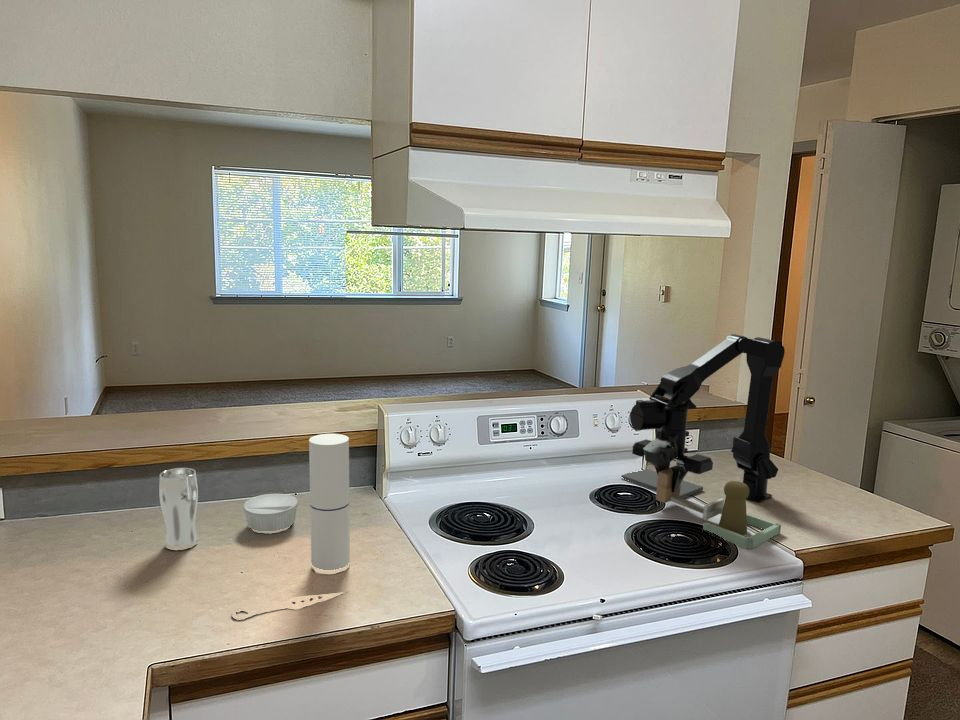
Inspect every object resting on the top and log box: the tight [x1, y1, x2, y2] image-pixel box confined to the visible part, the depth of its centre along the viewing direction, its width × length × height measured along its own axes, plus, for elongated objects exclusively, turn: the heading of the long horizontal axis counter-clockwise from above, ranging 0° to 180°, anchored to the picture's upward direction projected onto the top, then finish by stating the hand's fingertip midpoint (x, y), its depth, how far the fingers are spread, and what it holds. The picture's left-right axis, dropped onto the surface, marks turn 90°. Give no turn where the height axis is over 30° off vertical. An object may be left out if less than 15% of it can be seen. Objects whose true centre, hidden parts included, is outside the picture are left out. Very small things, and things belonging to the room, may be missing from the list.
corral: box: [702, 512, 782, 550], centre depth 153 cm, size 13×11×2 cm
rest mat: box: [621, 467, 704, 499], centre depth 181 cm, size 10×18×1 cm, turn 41°
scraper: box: [655, 467, 725, 521], centre depth 162 cm, size 7×14×7 cm, turn 41°
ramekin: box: [242, 493, 299, 531], centre depth 149 cm, size 11×11×5 cm
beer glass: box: [158, 467, 199, 546], centre depth 138 cm, size 7×7×15 cm
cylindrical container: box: [308, 433, 351, 570], centre depth 130 cm, size 7×7×25 cm
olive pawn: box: [718, 480, 749, 536], centre depth 153 cm, size 6×6×11 cm
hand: (668, 490), depth 166 cm, fingers closed on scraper, 2 cm apart
